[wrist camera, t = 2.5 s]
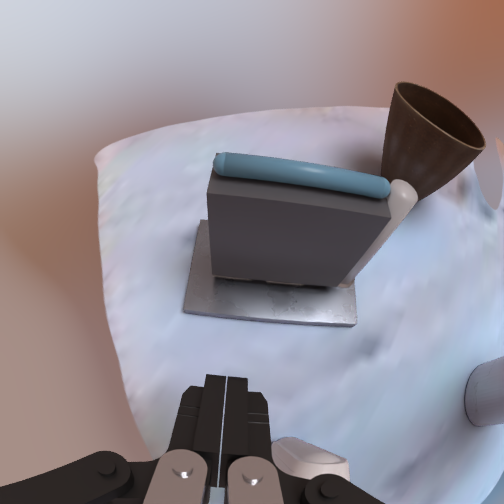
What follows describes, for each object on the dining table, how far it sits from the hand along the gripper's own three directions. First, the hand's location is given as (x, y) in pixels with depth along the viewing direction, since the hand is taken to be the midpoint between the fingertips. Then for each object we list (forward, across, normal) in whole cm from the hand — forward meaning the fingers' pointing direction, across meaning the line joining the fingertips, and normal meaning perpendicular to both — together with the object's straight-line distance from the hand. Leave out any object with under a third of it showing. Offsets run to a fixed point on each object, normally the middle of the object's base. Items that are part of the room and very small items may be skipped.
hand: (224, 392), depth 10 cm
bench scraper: (+21, -5, +1) cm, 21 cm away
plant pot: (+35, -25, -10) cm, 44 cm away
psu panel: (+22, -4, +2) cm, 22 cm away
